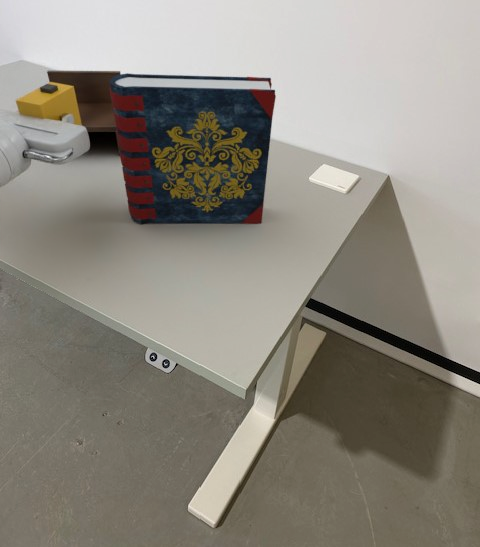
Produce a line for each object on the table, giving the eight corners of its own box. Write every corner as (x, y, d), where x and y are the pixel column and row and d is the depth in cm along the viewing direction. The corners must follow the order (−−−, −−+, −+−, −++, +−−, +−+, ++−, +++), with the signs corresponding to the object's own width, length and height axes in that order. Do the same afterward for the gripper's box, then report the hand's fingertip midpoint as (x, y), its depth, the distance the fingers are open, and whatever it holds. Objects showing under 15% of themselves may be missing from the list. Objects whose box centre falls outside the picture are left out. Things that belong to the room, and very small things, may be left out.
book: (127, 225, 78) (104, 87, 60) (131, 204, 83) (111, 71, 65) (262, 225, 80) (276, 92, 63) (258, 204, 85) (271, 76, 68)
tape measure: (54, 158, 71) (38, 100, 64) (31, 152, 72) (13, 95, 65) (84, 136, 77) (72, 81, 71) (63, 131, 78) (49, 77, 72)
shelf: (51, 157, 94) (34, 93, 85) (62, 129, 104) (47, 70, 95) (124, 155, 96) (115, 93, 87) (128, 129, 106) (120, 70, 97)
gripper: (53, 143, 58) (105, 107, 68) (-68, 116, 62) (-1, 86, 71) (64, 182, 62) (111, 143, 72) (-50, 155, 66) (10, 121, 76)
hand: (54, 114), depth 72 cm, fingers closed on tape measure, 4 cm apart
